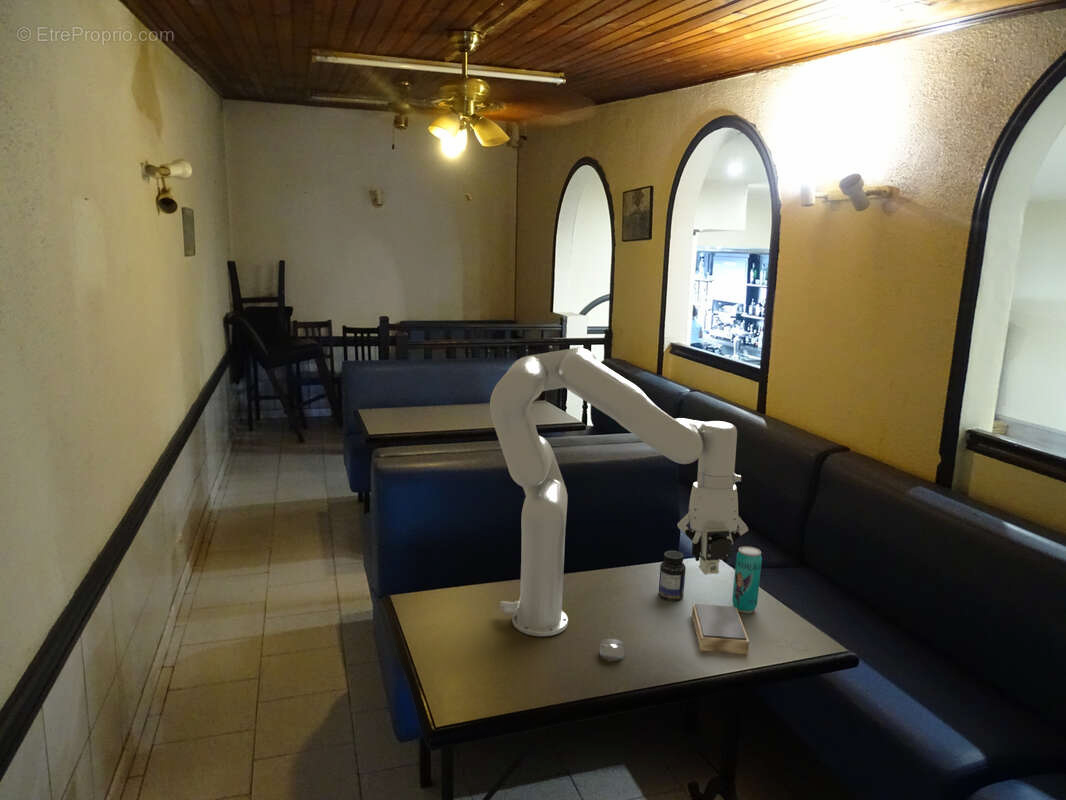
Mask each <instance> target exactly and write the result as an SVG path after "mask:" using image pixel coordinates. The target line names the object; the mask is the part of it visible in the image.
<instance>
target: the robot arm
mask: <svg viewBox="0 0 1066 800" xmlns="http://www.w3.org/2000/svg"><path fill="white" fill-rule="evenodd" d="M564 388H565V389H566V390H568V391H569V392H570V393H572V394H573V395H575V396H577V397H578V398H580V399H581V400H584V401H585V402H586V403H588V404H589V405H592V406H593V407H594V408H595V409H597V410H599V411H601V412H602V413H603V414H605V415H607V416H608V417H610V418H611V419H613V420H614V421H616V422H617V423H618V424H619V425H620V426H622V428H624V429H626V430H627V431H628V432H630V433H631V434H633V435H634V436H635V437H637V439H639V440H641V442H643V443H644V444H646V445H647V446H649V447H650V448H651V449H653V450H654V451H656V452H658V453H659V454H660V455H663V456H664V457H666V458H667V459H669V460H671V461H673V462H675V463H678V464H681V465H687V464H692V463H694V462H697V460H698V463H697V465H698V466H697V480H696V481H695V482H693V484H692V487H691V492H690V497H689V498H690V499H689V504H688V513H686V515H684V516H683V518H681V520H680V521H679V522H678V523H677V524H676V525H677V528H678V529H679V530H680V531H681V532H682V533H684V534H685V535H686V536H687V537H688V539H689V540H691V541H692V542H691V543H692V545H691V556H694V560H695V562H699V561H700V554H701V553H700V543H699V538H700V536H701V532H702V531H703V527H706V528H726V529H727V530H728V531H729V532H730V534H729V538H730V539H731V540H732V545H733V544H734V542H736V541H737V540H738V539H739V538H740V537H741V536H742V535H744V534H745V533H747V532H749V528H748V526H747V524H746V523H745V522H744V521H743V520H742V518H741V517H740V516H739V499H738V498H739V497H738V489H737V485H736V483H738V482H742V476H741V474H736V473H735V469H736V467H735V466H736V455H737V453H736V452H737V442H738V441H737V438H738V430H737V427H736V426H735V425H734V424H732V423H730V422H727V421H722V420H721V421H720V420H711V421H701V420H696V419H694V420H693V419H689V418H684V417H682V418H681V417H677V418H673V417H672V416H670V415H669V414H668V413H666V412H665V411H664V410H662V409H661V408H660V407H658V406H657V405H656V404H655V403H654V402H653V401H652V400H651V399H650V398H649V397H648V396H647V394H646V393H645V392H644V391H643V390H642V389H641V388H640V387H639V386H638V385H636V384H635V383H634V382H632V381H630V380H628V379H626V378H625V377H623V376H621V375H620V374H619V373H617V372H615V371H614V370H612V369H611V368H609V366H607V365H605V364H603V363H602V362H600V361H598V359H597V357H596V356H595V354H594V353H593V352H592V351H590V350H589V349H586V348H582V347H574V348H569V349H568V348H567V349H561V350H557V351H549V352H545V353H537V354H532V355H527V356H523V357H520V358H519V359H517V360H516V361H515V362H514V363H512V365H511V366H510V367H509V369H508V370H507V371H506V373H505V374H504V375H503V376H502V377H501V378H500V380H499V381H498V382H497V383H496V385H495V387H494V388H493V391H492V392H491V396H490V399H489V400H490V402H489V410H490V411H489V413H490V417H491V421H492V423H493V426H494V429H495V433H496V436H497V438H498V439H497V440H498V442H499V445H500V448H501V451H502V454H503V457H504V460H505V462H506V466H507V469H508V472H509V475H510V477H511V478H512V480H513V481H514V482H515V483H516V484H517V485H518V486H521V487H522V489H523V491H524V495H525V498H524V500H523V506H522V510H521V516H520V517H521V526H520V527H521V553H520V556H521V558H520V560H521V563H520V591H519V592H520V593H519V599H518V600H514V602H513V601H505V600H504V601H503V600H501V601H500V605H499V607H500V609H499V610H500V611H501V610H502V611H503V614H504V615H512V618H511V619H512V625H513V627H514V628H515V629H517V630H518V631H519V632H520V633H523V634H525V635H529V636H533V637H534V636H535V637H551V636H554V635H558V634H560V633H562V632H563V631H565V630H566V629H567V628H568V625H569V617H568V615H567V613H565V612H564V611H563V609H562V608H563V588H564V567H565V566H564V565H565V546H566V545H565V543H566V540H565V539H566V526H567V525H566V524H567V513H568V499H569V498H568V492H567V487H566V485H565V482H564V479H563V475H562V474H561V473H562V472H561V469H560V468H559V464H558V461H557V459H556V455H555V452H554V450H553V448H552V446H551V444H550V443H549V441H548V440H547V439H546V438H545V437H543V436H541V435H539V433H538V430H537V427H536V422H535V420H534V418H533V416H532V413H531V406H532V404H533V402H534V401H535V400H537V399H538V398H539V397H540V396H541V394H542V392H545V391H551V390H558V389H564ZM688 524H689V526H690V528H689V527H688V526H687V525H688ZM692 529H693V532H692ZM728 558H731V554H728ZM722 560H723V562H724V563H728V559H722Z"/></svg>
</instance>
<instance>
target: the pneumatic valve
mask: <svg viewBox="0 0 1066 800" xmlns="http://www.w3.org/2000/svg"><path fill="white" fill-rule="evenodd" d="M691 531H692V532H693V529H691ZM730 533H731V532H729V531H728V530H727V529H726V528H706V527H703V531H702V532H701V536H700V538H699V543H700V558H699V565H698V568H699V570H700V571H701V572H702V573H703V574H704V575H706V576H707V575H708V574H710V575H713V574H714V575H718V574H719V573H720V571H719V567H720V566H719V565H720V564H719V563H720V560H723V559H727V560H729V557H728V554H730V555H731V554H732V546H733V544H732V540H731V539H730V538H729V534H730Z"/></svg>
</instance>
